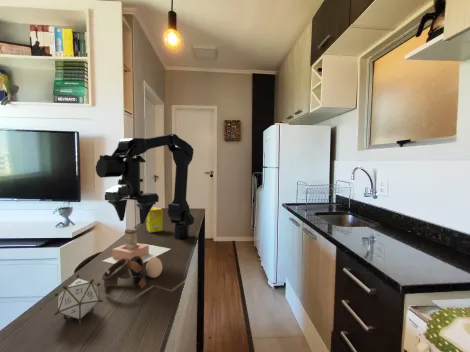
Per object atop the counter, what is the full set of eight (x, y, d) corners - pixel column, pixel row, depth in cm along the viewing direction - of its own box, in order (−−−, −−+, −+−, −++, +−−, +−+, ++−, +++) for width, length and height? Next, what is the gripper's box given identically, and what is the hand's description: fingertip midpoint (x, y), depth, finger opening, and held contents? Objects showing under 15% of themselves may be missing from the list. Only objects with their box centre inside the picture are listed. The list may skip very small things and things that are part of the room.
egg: (142, 280, 67) (142, 260, 66) (150, 273, 71) (150, 254, 71) (158, 281, 66) (157, 261, 66) (165, 274, 70) (164, 255, 70)
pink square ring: (131, 250, 88) (131, 241, 88) (148, 253, 85) (148, 245, 84) (112, 258, 80) (112, 249, 80) (130, 262, 77) (130, 252, 77)
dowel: (131, 253, 84) (130, 228, 84) (137, 255, 83) (136, 229, 83) (125, 256, 82) (124, 230, 81) (130, 257, 81) (130, 230, 80)
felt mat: (143, 245, 95) (143, 243, 95) (171, 250, 89) (171, 248, 89) (102, 262, 78) (102, 260, 78) (132, 269, 73) (132, 268, 73)
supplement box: (146, 231, 114) (145, 207, 113) (159, 229, 117) (159, 206, 116) (149, 234, 109) (149, 210, 108) (162, 232, 112) (162, 208, 111)
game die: (75, 330, 52) (73, 282, 57) (113, 314, 53) (108, 268, 57) (40, 336, 44) (41, 279, 49) (86, 317, 45) (83, 263, 49)
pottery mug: (141, 298, 59) (121, 272, 57) (110, 311, 60) (89, 286, 58) (158, 265, 70) (142, 243, 68) (131, 277, 72) (115, 255, 70)
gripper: (89, 176, 78) (90, 224, 79) (133, 178, 70) (134, 231, 71) (118, 174, 88) (119, 217, 89) (159, 176, 81) (159, 223, 81)
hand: (131, 222), depth 82 cm, fingers open, 9 cm apart
